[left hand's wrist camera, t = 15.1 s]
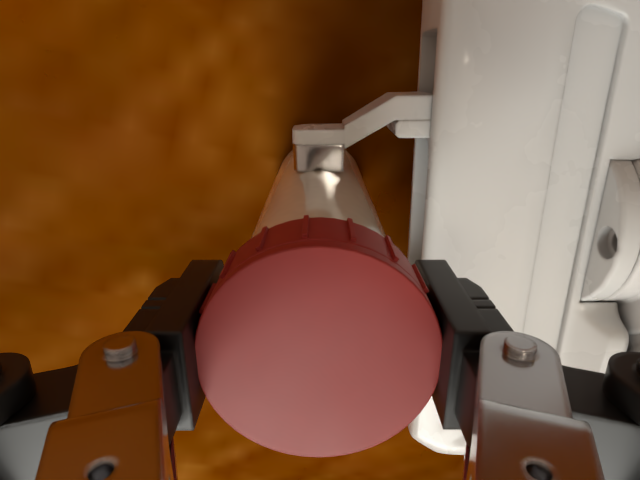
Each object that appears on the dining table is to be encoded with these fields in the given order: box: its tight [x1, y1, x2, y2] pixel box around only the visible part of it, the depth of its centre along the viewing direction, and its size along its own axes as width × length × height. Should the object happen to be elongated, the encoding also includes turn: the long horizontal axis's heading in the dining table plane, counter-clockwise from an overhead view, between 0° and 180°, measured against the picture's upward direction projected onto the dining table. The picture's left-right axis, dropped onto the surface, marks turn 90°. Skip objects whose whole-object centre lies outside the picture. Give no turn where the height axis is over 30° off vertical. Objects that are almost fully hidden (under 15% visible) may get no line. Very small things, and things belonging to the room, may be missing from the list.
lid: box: [195, 215, 442, 457], centre depth 10 cm, size 5×5×2 cm
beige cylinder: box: [251, 149, 386, 238], centre depth 17 cm, size 4×4×15 cm
